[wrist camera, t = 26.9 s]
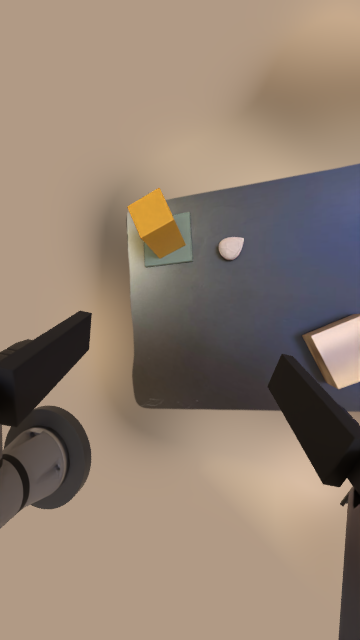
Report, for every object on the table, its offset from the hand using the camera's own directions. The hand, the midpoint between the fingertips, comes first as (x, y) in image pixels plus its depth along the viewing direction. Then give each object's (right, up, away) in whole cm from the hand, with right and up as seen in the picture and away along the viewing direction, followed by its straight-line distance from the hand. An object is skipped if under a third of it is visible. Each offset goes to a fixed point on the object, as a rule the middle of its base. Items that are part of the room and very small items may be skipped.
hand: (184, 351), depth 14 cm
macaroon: (+10, +16, +27) cm, 33 cm away
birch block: (+27, -3, +22) cm, 35 cm away
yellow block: (-3, +19, +29) cm, 34 cm away
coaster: (-3, +19, +29) cm, 35 cm away
